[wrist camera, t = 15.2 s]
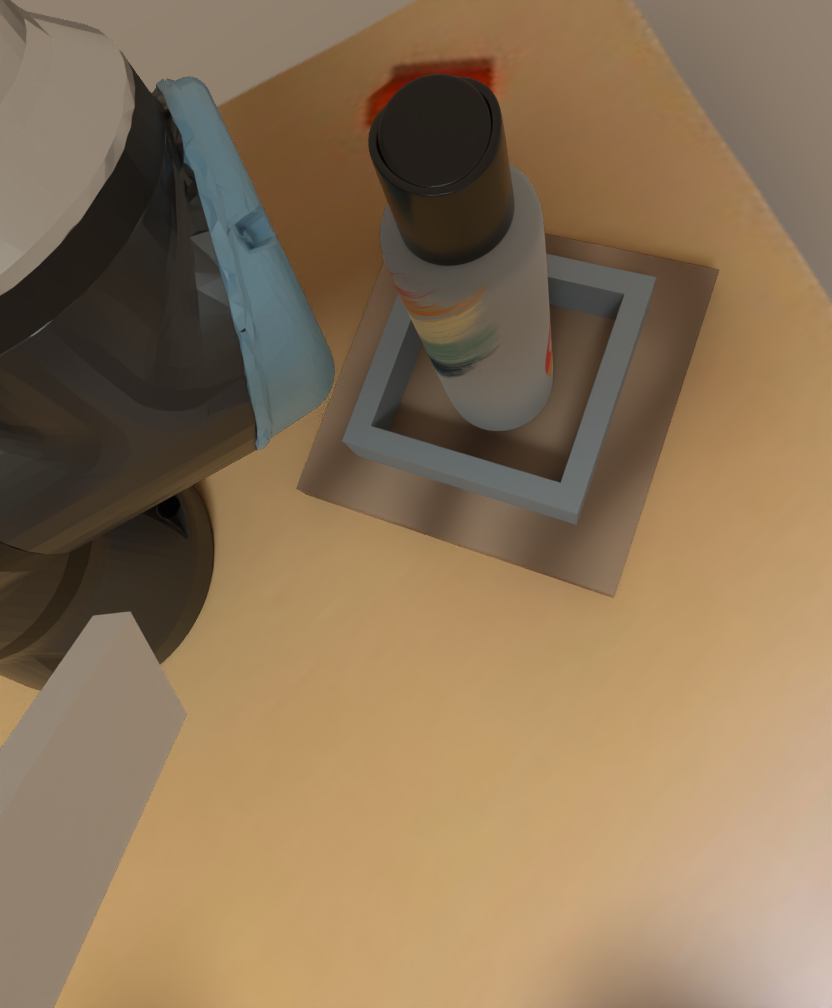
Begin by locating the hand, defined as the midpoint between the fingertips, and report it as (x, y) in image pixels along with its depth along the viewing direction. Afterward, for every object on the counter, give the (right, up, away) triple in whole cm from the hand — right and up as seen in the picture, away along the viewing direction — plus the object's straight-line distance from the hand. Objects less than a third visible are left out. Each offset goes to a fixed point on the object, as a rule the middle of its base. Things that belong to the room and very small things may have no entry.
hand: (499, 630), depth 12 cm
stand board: (+4, +9, +28) cm, 29 cm away
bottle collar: (+3, +9, +26) cm, 28 cm away
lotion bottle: (+3, +9, +27) cm, 28 cm away
